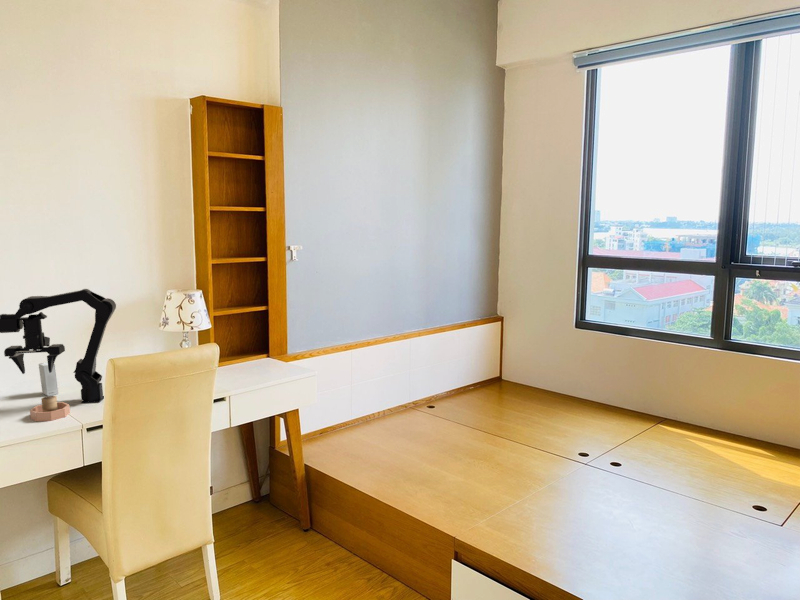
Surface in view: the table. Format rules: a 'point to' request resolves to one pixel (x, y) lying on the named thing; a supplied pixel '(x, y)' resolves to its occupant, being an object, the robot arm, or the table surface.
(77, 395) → the table surface
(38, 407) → the pink octagonal ring
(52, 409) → the oak tube
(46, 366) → the skincare box
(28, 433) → the table surface
